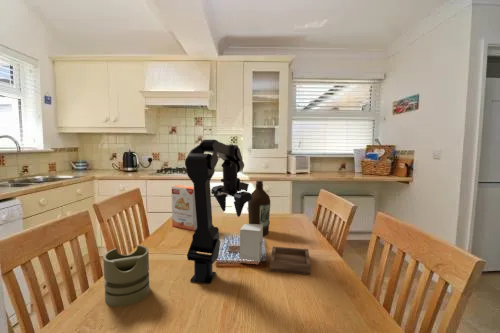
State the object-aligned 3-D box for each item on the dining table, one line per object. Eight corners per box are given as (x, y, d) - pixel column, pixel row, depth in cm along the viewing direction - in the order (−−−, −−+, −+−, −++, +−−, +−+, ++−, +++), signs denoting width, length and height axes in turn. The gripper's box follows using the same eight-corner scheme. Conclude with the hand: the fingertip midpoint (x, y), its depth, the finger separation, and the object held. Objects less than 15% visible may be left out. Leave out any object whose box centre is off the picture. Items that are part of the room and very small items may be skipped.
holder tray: (310, 274, 84) (310, 265, 84) (269, 270, 86) (269, 262, 86) (308, 256, 98) (308, 249, 97) (272, 254, 100) (272, 246, 99)
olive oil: (243, 232, 123) (243, 180, 121) (258, 227, 130) (259, 178, 128) (258, 238, 116) (259, 183, 113) (274, 233, 123) (275, 181, 121)
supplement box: (259, 266, 90) (260, 230, 89) (239, 263, 91) (239, 229, 90) (262, 257, 97) (263, 224, 96) (243, 255, 99) (244, 222, 97)
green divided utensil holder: (149, 257, 69) (100, 265, 64) (150, 300, 70) (102, 311, 65) (147, 242, 79) (105, 248, 74) (148, 280, 80) (107, 288, 76)
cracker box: (171, 226, 130) (170, 185, 128) (179, 223, 136) (179, 184, 134) (193, 231, 124) (192, 188, 122) (201, 227, 129) (200, 186, 127)
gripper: (261, 176, 101) (261, 214, 104) (230, 170, 114) (231, 203, 117) (240, 181, 94) (241, 222, 96) (209, 174, 107) (211, 210, 109)
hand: (231, 213), depth 105 cm, fingers open, 9 cm apart
